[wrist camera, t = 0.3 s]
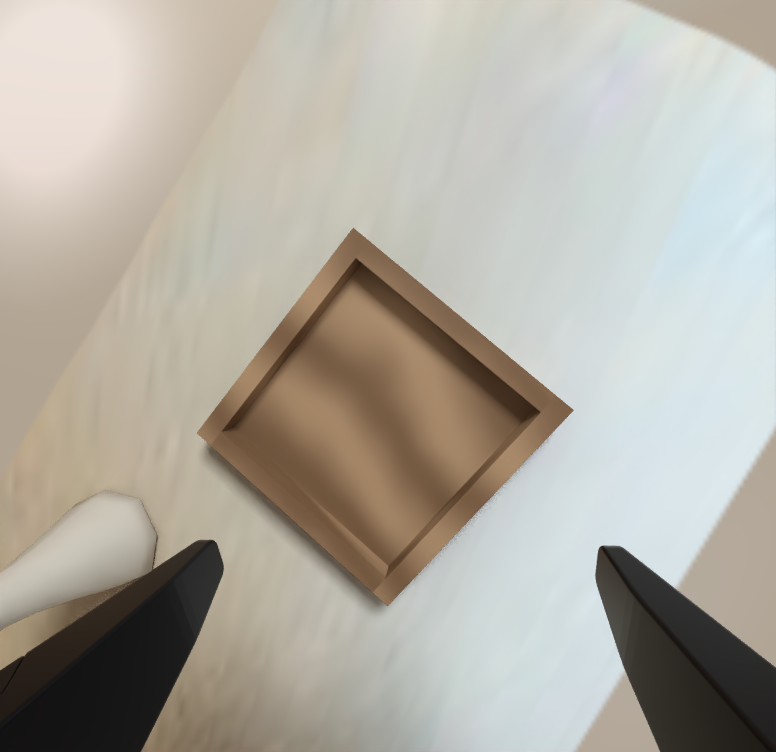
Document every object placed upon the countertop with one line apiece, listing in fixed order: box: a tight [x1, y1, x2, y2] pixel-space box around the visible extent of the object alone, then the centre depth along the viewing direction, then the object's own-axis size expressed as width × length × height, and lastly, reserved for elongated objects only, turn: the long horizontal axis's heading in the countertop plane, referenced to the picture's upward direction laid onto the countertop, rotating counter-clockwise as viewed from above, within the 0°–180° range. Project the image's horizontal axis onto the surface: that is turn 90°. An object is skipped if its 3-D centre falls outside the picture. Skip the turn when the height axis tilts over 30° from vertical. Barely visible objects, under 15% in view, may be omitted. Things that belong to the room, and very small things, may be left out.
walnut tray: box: [197, 228, 573, 606], centre depth 23 cm, size 16×16×2 cm
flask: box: [0, 490, 157, 631], centre depth 23 cm, size 7×7×10 cm
